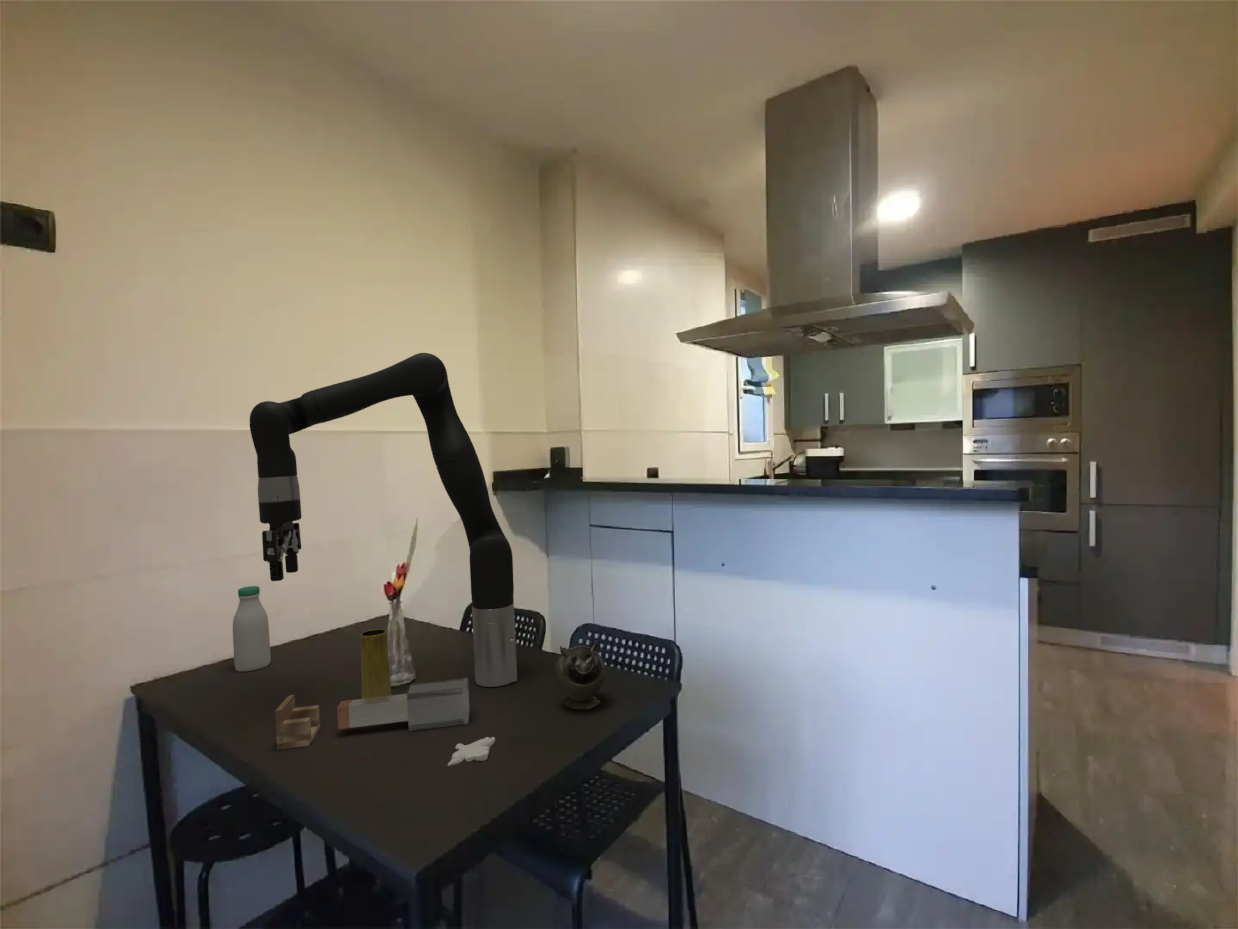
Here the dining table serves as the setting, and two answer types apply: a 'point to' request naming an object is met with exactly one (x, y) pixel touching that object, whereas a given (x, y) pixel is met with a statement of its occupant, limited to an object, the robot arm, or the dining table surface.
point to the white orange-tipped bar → (372, 711)
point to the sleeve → (438, 704)
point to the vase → (374, 664)
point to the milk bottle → (250, 632)
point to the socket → (295, 724)
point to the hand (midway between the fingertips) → (285, 576)
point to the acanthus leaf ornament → (472, 751)
